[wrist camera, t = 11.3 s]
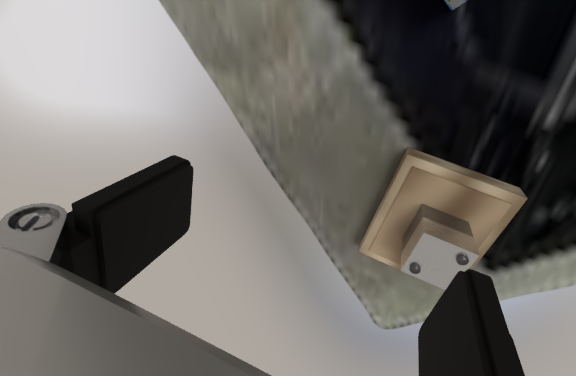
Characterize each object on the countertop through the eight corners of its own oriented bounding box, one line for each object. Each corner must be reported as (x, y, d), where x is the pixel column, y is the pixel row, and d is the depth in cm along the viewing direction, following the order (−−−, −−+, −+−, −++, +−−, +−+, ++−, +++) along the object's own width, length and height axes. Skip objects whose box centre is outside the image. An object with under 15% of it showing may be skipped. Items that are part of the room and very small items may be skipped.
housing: (468, 221, 33) (480, 257, 27) (445, 256, 35) (451, 294, 30) (422, 203, 33) (424, 234, 28) (402, 238, 36) (400, 272, 31)
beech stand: (519, 187, 32) (528, 200, 30) (451, 279, 39) (453, 295, 37) (407, 147, 34) (407, 155, 32) (361, 240, 41) (358, 253, 39)
